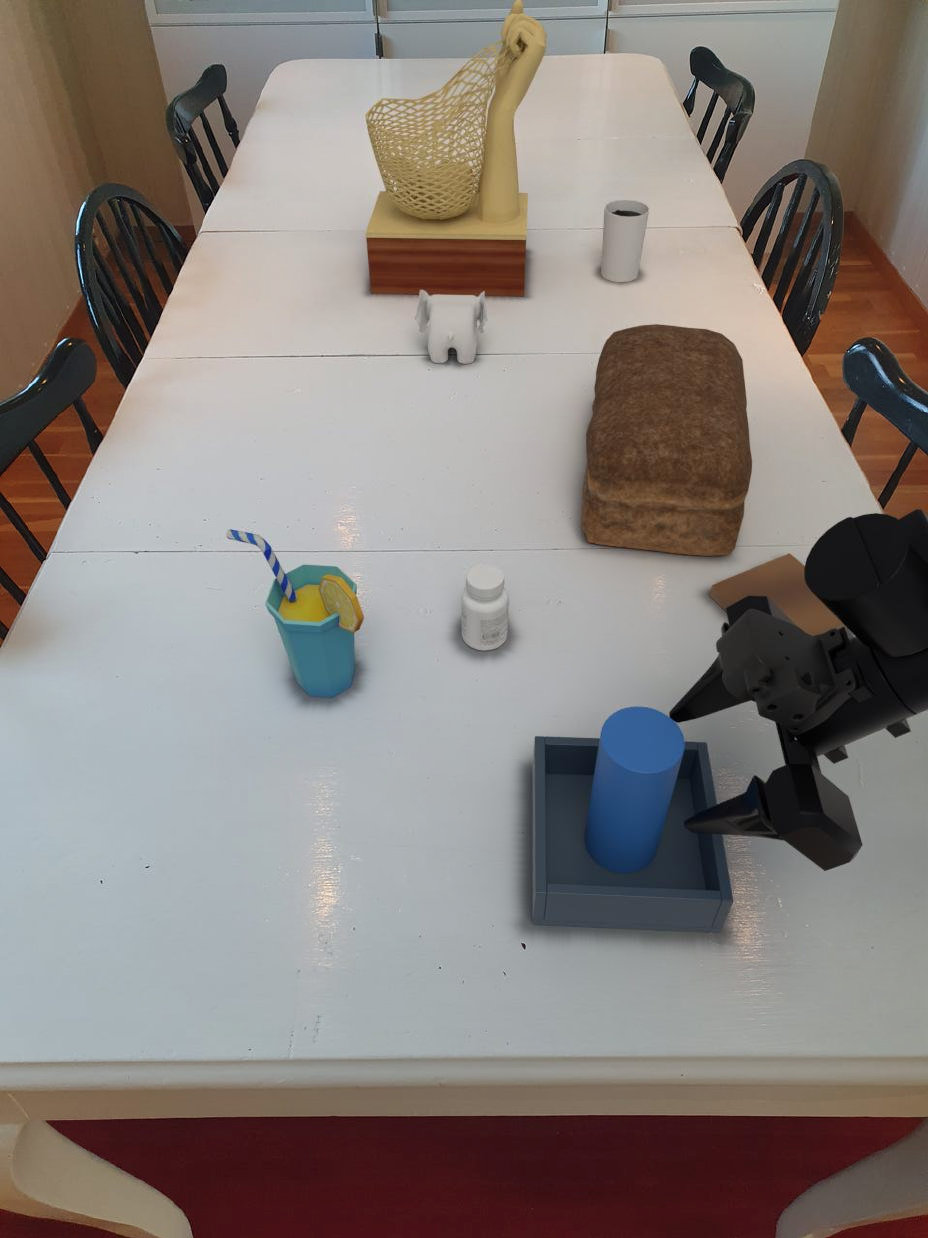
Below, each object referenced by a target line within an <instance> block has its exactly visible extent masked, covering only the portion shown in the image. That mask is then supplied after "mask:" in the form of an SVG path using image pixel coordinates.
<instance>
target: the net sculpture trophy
mask: <svg viewBox="0 0 928 1238" xmlns="http://www.w3.org/2000/svg"><path fill="white" fill-rule="evenodd" d="M501 27H502V28H501V31H500V35H501V40H499V41H497V42H495V43H493V44H490V45H488V46H486V47H484V48H483V49H481V50H480V51H478V53H476V54H474V56H472V57H471V58H470V59H469V60H468V61H467V62H466V63H465V64H464V65H463V66H462V67H461V68H460V69H459V70H458V71H457V72H456V73H455V74H454V75H453V76H452V77H451V78H450V79H449V80H448V81H447V82H446V83H445V84H444V85H443V86H442V87H441V88H440V89H438V90H435V91H434V92H431V93H428V94H427V95H424V96H421V97H419V98H391V97H390V98H387V97H384V98H383V97H382V98H381V99H380V100H378V101H377V102H375V103H374V104H373V105H372V106H371V107H370V108H369V110H368V111H367V112H366V113H365V114H364V117H365V122H366V128H367V133H368V138H369V141H370V145H371V148H372V152H373V155H374V158H375V162H376V164H377V167H378V171H379V174H380V177H381V179H382V183H383V186H384V189H385V190H380V191H379V193H378V196H377V198H376V202H375V204H374V207H373V210H372V213H371V216H370V219H369V222H368V225H367V228H366V230H365V240H366V250H367V251H366V252H367V264H368V275H369V286H370V294H372V295H373V294H374V295H377V294H379V295H380V294H381V295H419V294H420V290H424V291H426V292H427V293H428V295H429V296H432V295H435V294H439V295H474V296H477V297H478V296H479V295H480V294H481V293H482V292H483V291H485V297H525V283H526V255H527V229H528V228H527V227H528V202H529V200H528V199H529V193H528V192H520V185H519V172H518V157H517V144H516V137H515V121H514V120H515V115H516V111H517V109H518V108H519V107H520V104H521V103H522V102H523V100H524V98H525V96H526V95H527V92H528V90H529V88H530V87H531V84H532V82H533V80H534V78H535V76H536V74H537V72H538V69H539V67H540V65H541V64H542V61H543V59H544V56H545V53H546V52H547V51H546V50H547V49H546V48H547V38H548V37H547V36H548V35H547V33H546V30H545V27H544V26H543V24H541V23H540V21H538V19H535V18H533V17H531V16H529V15H527V14H525V13H524V3H523V1H522V0H514V3H513V4H512V6H511V8H510V10H509V13H508V15H507V16H506V17H505V18H504V21H503V24H502V26H501ZM501 44H502V45H501ZM500 45H501V47H500V48H499V49H496V47H498V46H500ZM484 51H485V53H484ZM489 52H492V53H491V54H490V55H489V56H488V57H487V58H485V57H486V56H487V55H488V54H489ZM483 53H484V54H483ZM482 54H483V56H482ZM493 56H494V60H493V61H492V62H491V63H489V62H487V61H489V60H490V59H491V58H492V57H493ZM470 62H472V63H470ZM481 63H482V64H481ZM476 64H477V65H476ZM467 65H468V66H467ZM474 65H475V67H474V68H473V69H470V68H472V67H473V66H474ZM480 65H481V67H480V68H479V70H477V68H478V67H479V66H480ZM485 65H486V66H487V68H486V70H485V71H484V73H483V72H482V69H483V68H484V66H485ZM492 65H494V68H492V69H491V66H492ZM466 72H468V73H467V74H465V73H466ZM464 74H465V75H464ZM471 74H474V75H473V76H472V77H471V78H470V79H469V80H468V81H466V80H465V79H466V78H468V77H469V76H471ZM463 75H464V76H463ZM478 75H480V77H479V78H478V79H477V80H475V82H472V81H473V80H474V79H475V78H476V77H477V76H478ZM462 76H463V77H462ZM482 79H483V80H482ZM481 80H482V82H481V83H480V84H479V82H480V81H481ZM462 83H463V84H464V86H463V88H462V89H461V90H460V91H459V93H458V94H456V95H454V94H455V93H456V91H457V90H458V88H459V86H460V85H461V84H462ZM468 86H470V87H469V88H468V89H467V90H466V91H465V89H466V88H467V87H468ZM453 87H455V88H454V90H453V92H452V93H451V94H450V96H449V97H447V96H448V94H449V92H450V91H451V90H452V88H453ZM475 87H477V88H476V89H474V88H475ZM464 91H465V92H464ZM493 91H494V92H493ZM463 92H464V93H463ZM439 93H440V94H439ZM477 93H478V94H477ZM492 94H493V95H492ZM483 95H484V96H483ZM482 96H483V97H482ZM446 97H447V98H446ZM474 97H475V98H474ZM481 97H482V98H481ZM440 98H441V99H440ZM472 98H474V99H473V100H472ZM490 98H491V99H490ZM430 99H432V100H430ZM439 99H440V101H437V100H439ZM428 100H430V101H429V102H428ZM477 100H478V101H479V102H477V103H476V101H477ZM489 100H490V102H489ZM384 101H386V102H384ZM401 101H403V102H401ZM383 102H384V103H383ZM409 103H410V104H412V105H407V104H409ZM447 103H448V104H447ZM488 103H489V105H488ZM392 104H393V105H396V106H395V107H391V106H389V105H392ZM422 105H423V106H422ZM431 105H433V106H431ZM416 106H422V107H421V108H419V109H417V108H416ZM429 106H431V107H429ZM400 107H405V109H403V110H399V108H400ZM427 107H429V108H427ZM384 108H386V109H389V110H387V111H385V112H383V110H384ZM470 108H473V109H472V110H471V109H470ZM378 109H379V111H378ZM447 109H448V110H447ZM481 109H482V110H481ZM409 110H413V111H412V112H408V111H409ZM440 110H441V111H440ZM446 110H447V111H446ZM439 111H440V112H439ZM445 111H446V112H445ZM391 112H397V113H395V114H390V113H391ZM429 112H430V113H429ZM418 113H420V114H419V115H417V114H418ZM427 113H429V114H427ZM466 113H468V114H466ZM375 114H377V115H376V116H375ZM402 114H404V115H403V116H401V115H402ZM465 114H466V115H465ZM471 114H472V115H471ZM486 114H487V115H486ZM380 115H382V116H381V117H380ZM385 116H388V117H385ZM439 116H441V117H440V118H438V117H439ZM447 116H448V117H447ZM464 116H465V117H464ZM374 117H375V118H374ZM408 117H413V118H408ZM429 117H431V118H429ZM393 118H397V119H395V120H393ZM428 118H429V119H428ZM479 118H481V119H480V120H479ZM418 119H420V120H418ZM402 120H405V121H402ZM456 120H457V121H456ZM455 121H456V122H455ZM476 121H477V123H475V122H476ZM386 122H389V123H386ZM411 122H413V123H411ZM430 122H431V123H430ZM454 122H455V124H453V123H454ZM464 122H465V123H464ZM385 123H386V124H385ZM428 123H430V124H428ZM393 124H396V125H393ZM403 125H405V126H403ZM429 127H430V128H429ZM456 127H457V129H456ZM428 128H429V129H428ZM448 128H449V129H448ZM471 128H472V129H471ZM470 129H471V130H470ZM479 129H480V134H479V133H478V130H479ZM463 130H464V133H463V134H462V131H463ZM420 131H421V132H420ZM396 133H397V134H396ZM405 134H406V135H405ZM456 134H457V135H456ZM445 135H446V136H445ZM455 136H456V137H455ZM430 138H431V139H430ZM440 139H442V140H440ZM439 140H440V141H439ZM447 140H449V141H448V142H447V143H445V141H447ZM462 140H464V141H465V142H464V143H461V142H462ZM471 143H473V144H471ZM477 143H479V145H477ZM455 144H456V145H455ZM454 145H455V146H454ZM420 146H421V147H420ZM398 147H399V148H398ZM440 147H441V148H440ZM439 148H440V149H439ZM447 148H448V149H447ZM446 149H447V150H446ZM458 149H459V150H458ZM430 150H431V151H430ZM445 150H446V151H445ZM462 150H464V152H462ZM454 152H456V154H455V155H453V154H454ZM470 153H473V154H472V155H470ZM477 154H478V155H477ZM428 157H430V158H428ZM416 158H417V159H416ZM437 162H439V163H437ZM469 162H471V163H472V164H471V165H470V164H469ZM395 188H396V189H395Z"/></svg>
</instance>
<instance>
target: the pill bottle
mask: <svg viewBox="0 0 928 1238" xmlns="http://www.w3.org/2000/svg"><path fill="white" fill-rule="evenodd" d="M509 605H510V596H509V593H508V590H507V589H506V587H505V574H504V571H503V570H502V569H501V568H500V567H499V566H497V565H495V564H490V563H479V564H475V565H473V566H471V567H470V568H469V569H468V570H467V572H466V575H465V587H464V588H463V590H462V591H461V596H460V615H461V616H460V617H461V619H460V621H461V623H460V624H461V638H462V639H463V642H464V643H465V644H466V645H467V646H469V647H470V648H472V649H474V650H478V651H491V650H495V649H497V648H499V647H501V646H502V645H503V644H504V643H505V642H506V640H507V638H508V633H509V632H508V630H509Z"/></svg>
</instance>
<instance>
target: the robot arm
mask: <svg viewBox="0 0 928 1238" xmlns="http://www.w3.org/2000/svg"><path fill="white" fill-rule="evenodd" d="M804 566H805V568H804V578H805V582H806V584H807V586H808V588H809V589H810V590H811V592H812V593H813V594H814V595H815V596H816V597H817V598H818V599H819V600H820V601H821V602H822V603H823V604H824V605H825V606H826V607H827V608H828V609H829V610H830V611H831V612H832V613H833V614H834V615H835V616H836V617H837V618H838V619H839V620H840V621H841V622H842V623H843V624H844V625H845V626H846V627H847V628H848V629H846V628H845V627H842V628H840V629H835V628H834V629H831V630H829V631H827V632H825V633H823V634H819V635H815V636H812V635H810V634H808V633H806V632H804V631H803V630H802V629H801V628H799V627H798V626H797V625H796V624H795V623H794V622H793V621H792V620H791V619H790V618H789V617H788V616H787V615H786V614H785V613H784V612H783V611H781V610H780V609H779V608H778V607H777V606H776V605H775V604H774V603H773V602H772V601H771V600H770V599H769V598H768V597H767V596H747V597H745V598H743V599H741V600H739V601H738V602H736V603H734V604H732V605H730V606H729V607H727V608H726V611H725V612H726V616H727V622H723V623H722V625H721V628H720V632H721V636H720V637H719V638H718V639H717V640H716V642H715V649H716V652H717V653H718V655H717V657H716V658H715V659H714V661H713V663H712V664H710V666H709V667H708V669H707V670H706V671H705V672H704V673H703V674H702V676H701V677H700V678H699V679H698V680H697V681H696V682H695V683H694V684H693V685H692V686H691V688H690V689H688V691H687V692H686V693H685V694H684V695H683V696H682V697H681V698H680V699H679V700H678V702H677V703H676V704H675V705H674V706H673V707H672V708H671V709H670V710H669V712H668V717H670V718H671V719H672V720H673V721H674V722H675V723H676V724H681V723H683V722H688V721H692V720H696V719H697V720H698V719H700V718H704V717H706V716H709V715H712V714H715V713H718V712H721V711H724V710H728V709H730V708H733V707H735V706H738V705H742V704H744V703H747V702H754V703H755V704H756V709H757V713H758V716H760V717H762V718H765V719H767V720H770V721H773V722H774V723H775V727H776V731H777V735H778V740H779V744H780V749H781V753H782V756H783V761H784V764H785V765H782V766H780V767H778V768H775V769H773V770H772V771H771V773H770V775H769V777H768V778H767V780H766V781H764V780H763V779H762V778H761V777H759V776H758V775H756V774H754V775H753V776H752V777H751V780H750V782H749V783H748V785H747V788H746V790H745V791H744V792H743V793H740V794H738V795H736V796H734V797H731V798H729V799H726V800H725V801H721V802H720V803H717V805H715V806H713V807H710V808H708V809H705V810H703V811H701V812H699V813H697V814H695V815H694V816H692V817H690V818H688V819H687V820H685V821H684V827H685V828H686V829H687V830H689V831H690V832H692V833H704V834H721V835H722V836H741V837H755V838H764V839H771V840H775V841H782V842H785V843H787V844H788V845H789V846H791V847H792V848H794V849H795V850H796V851H797V852H798V853H800V854H801V855H802V856H804V857H805V858H807V860H810V862H812V863H813V864H815V865H816V866H817V867H819V868H820V869H821V870H823V871H824V872H826V871H829V870H832V869H835V868H837V867H840V866H844V865H846V864H849V863H851V862H852V861H853V860H854V859H855V858H856V857H857V856H858V854H859V853H860V850H861V849H862V846H863V842H862V837H861V835H860V831H859V827H858V824H857V821H856V818H855V814H854V810H853V807H852V803H851V800H850V797H849V795H848V794H847V793H845V792H844V791H843V790H842V789H840V788H839V787H838V786H837V785H836V784H834V783H833V781H831V780H830V779H829V778H827V777H826V776H825V775H824V774H823V773H822V769H821V766H820V763H819V759H818V757H820V756H824V757H825V758H826V759H827V760H828V761H830V762H831V763H832V764H833V765H834V764H837V763H839V762H842V761H844V760H847V759H849V755H848V752H847V748H846V746H847V745H849V744H852V743H854V742H857V741H858V740H861V739H863V738H865V737H868V736H871V735H872V734H875V733H877V732H879V731H883V730H886V731H887V732H888V733H890V735H891V736H892V737H893V738H895V739H897V738H899V737H901V736H904V735H906V734H909V733H910V732H911V733H912V730H911V728H910V725H909V722H908V719H909V718H912V717H915V716H916V715H919V714H921V713H924V712H926V711H928V515H927V514H926V512H925V511H924V510H923V509H921V508H917V509H914V510H913V511H911V512H908V513H907V514H905V515H904V516H902V517H900V518H897V517H895V516H893V515H890V514H887V513H880V512H879V513H878V512H875V513H866V514H865V513H864V514H861V515H858V516H855V517H853V516H848V517H845V518H843V519H842V520H839V521H838V522H837V523H835V524H834V525H833V526H831V527H830V528H828V529H827V530H826V531H825V532H824V533H823V534H822V535H821V536H820V537H819V538H818V539H817V540H816V542H815V543H814V545H813V546H812V547H811V549H810V550H809V553H808V555H807V557H806V560H805V563H804Z"/></svg>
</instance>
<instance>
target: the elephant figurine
mask: <svg viewBox="0 0 928 1238" xmlns="http://www.w3.org/2000/svg"><path fill="white" fill-rule="evenodd" d="M487 311H488V310H487V304H486V296H485V291H483V292H482V293H481V294H480V295H479V296H478V295H439V294H435V295H428V293H427V292H426V291H424V290H420V294H418V301H417V306H416V312H415V315H414V321H415V322H416V324H417V325H418V326H419V332H420V333H426V332H427V330H428V339H427V350H428V355H429V357H430V360H431V362H433V363H434V364H444V363H446V362H448V360H449V349H450V348H452V349H454V350H456V360H457V362H458V363H460V364H462V365H465V364H467V365H468V364H471V363H473V362H474V361H475V359H476V355H477V344H478V340H479V333H480V334H481V335H482V334H484V331H485V330H484V327H485V326H486V325H487V324H488V320H489V318H488V313H487ZM478 323H479V326H478Z"/></svg>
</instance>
